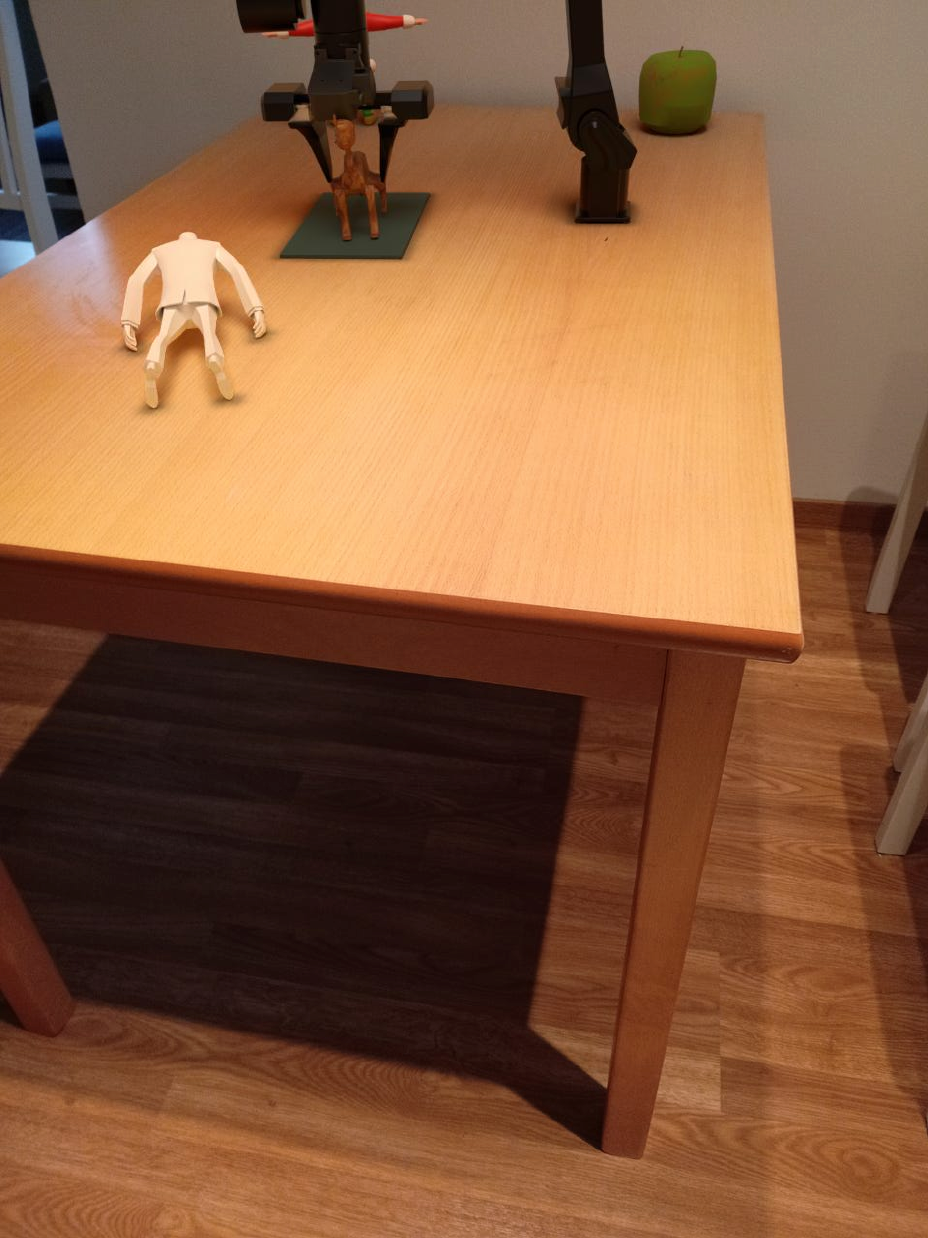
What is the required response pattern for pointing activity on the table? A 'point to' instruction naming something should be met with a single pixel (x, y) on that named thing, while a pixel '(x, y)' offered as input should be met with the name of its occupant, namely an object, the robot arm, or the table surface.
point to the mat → (357, 228)
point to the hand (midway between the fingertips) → (356, 181)
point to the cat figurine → (355, 180)
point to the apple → (677, 90)
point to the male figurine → (187, 303)
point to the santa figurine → (373, 24)
